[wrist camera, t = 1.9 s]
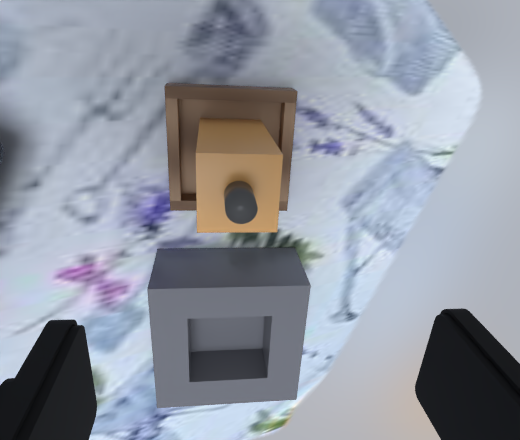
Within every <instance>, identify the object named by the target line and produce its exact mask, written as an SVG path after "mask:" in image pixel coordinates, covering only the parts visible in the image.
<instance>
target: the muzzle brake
mask: <svg viewBox="0 0 520 440" xmlns="http://www.w3.org/2000/svg"><path fill="white" fill-rule="evenodd" d="M3 156H4V147H3V145H2V144H1V142H0V164H1V161H2V158H3Z"/></svg>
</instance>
